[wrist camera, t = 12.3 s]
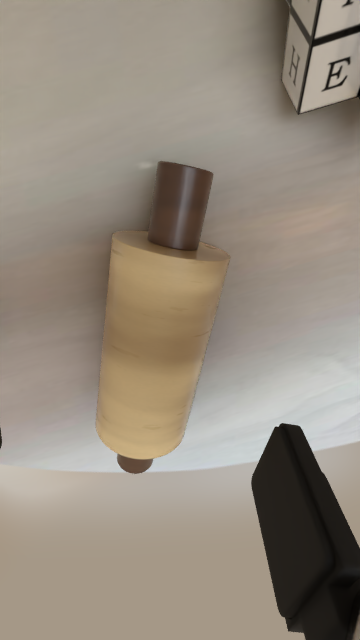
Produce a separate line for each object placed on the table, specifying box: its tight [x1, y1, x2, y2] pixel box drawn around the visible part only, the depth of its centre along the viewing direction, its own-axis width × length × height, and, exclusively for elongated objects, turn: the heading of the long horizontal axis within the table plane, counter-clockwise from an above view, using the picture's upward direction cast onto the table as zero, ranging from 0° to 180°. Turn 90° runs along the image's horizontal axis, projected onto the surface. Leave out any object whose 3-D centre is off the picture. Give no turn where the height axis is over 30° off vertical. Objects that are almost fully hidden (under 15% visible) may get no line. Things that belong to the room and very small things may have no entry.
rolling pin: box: [96, 161, 230, 474], centre depth 17 cm, size 19×6×6 cm, turn 169°
